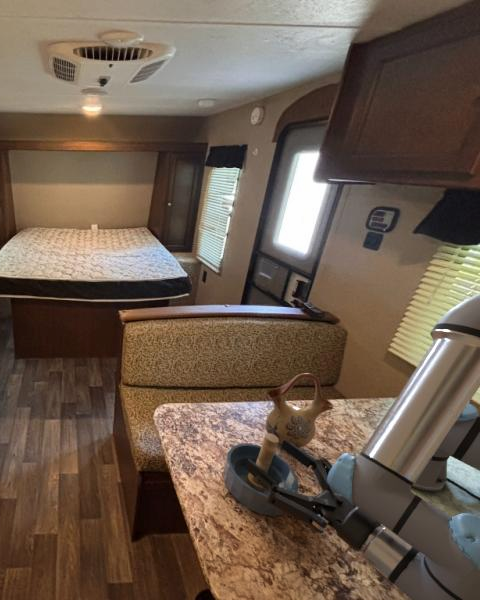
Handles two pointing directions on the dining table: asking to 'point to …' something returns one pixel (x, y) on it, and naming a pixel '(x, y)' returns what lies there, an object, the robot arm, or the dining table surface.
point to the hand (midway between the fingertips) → (265, 452)
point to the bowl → (238, 474)
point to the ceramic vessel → (295, 414)
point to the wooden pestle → (264, 459)
